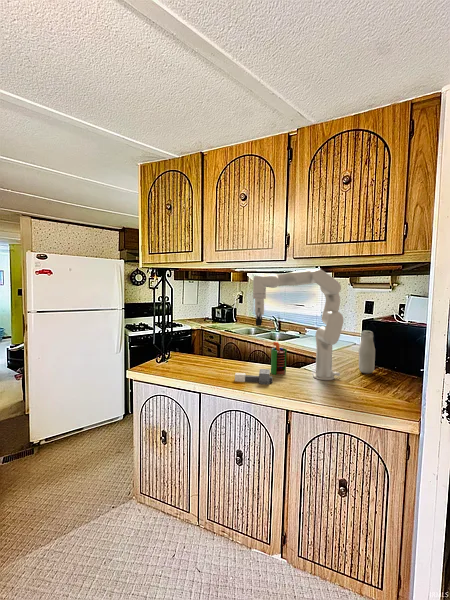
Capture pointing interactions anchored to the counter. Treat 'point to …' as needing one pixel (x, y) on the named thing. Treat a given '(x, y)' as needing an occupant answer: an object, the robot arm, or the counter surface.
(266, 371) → the housing
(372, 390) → the counter surface
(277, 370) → the motor
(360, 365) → the light grey bottle
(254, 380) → the plug
